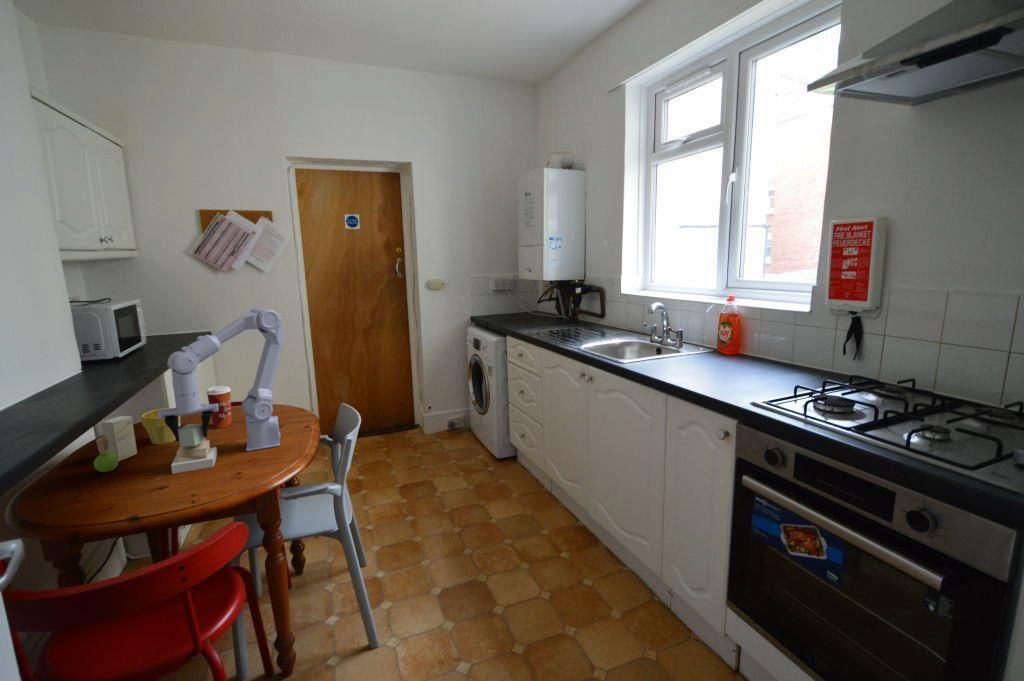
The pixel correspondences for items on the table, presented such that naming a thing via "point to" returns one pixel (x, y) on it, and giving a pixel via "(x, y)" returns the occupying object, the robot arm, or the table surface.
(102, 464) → the snail figurine
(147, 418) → the plant pot
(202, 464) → the grey base block
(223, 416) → the paper cup
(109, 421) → the skincare box
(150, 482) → the table surface
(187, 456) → the beech top block
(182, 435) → the sage block
